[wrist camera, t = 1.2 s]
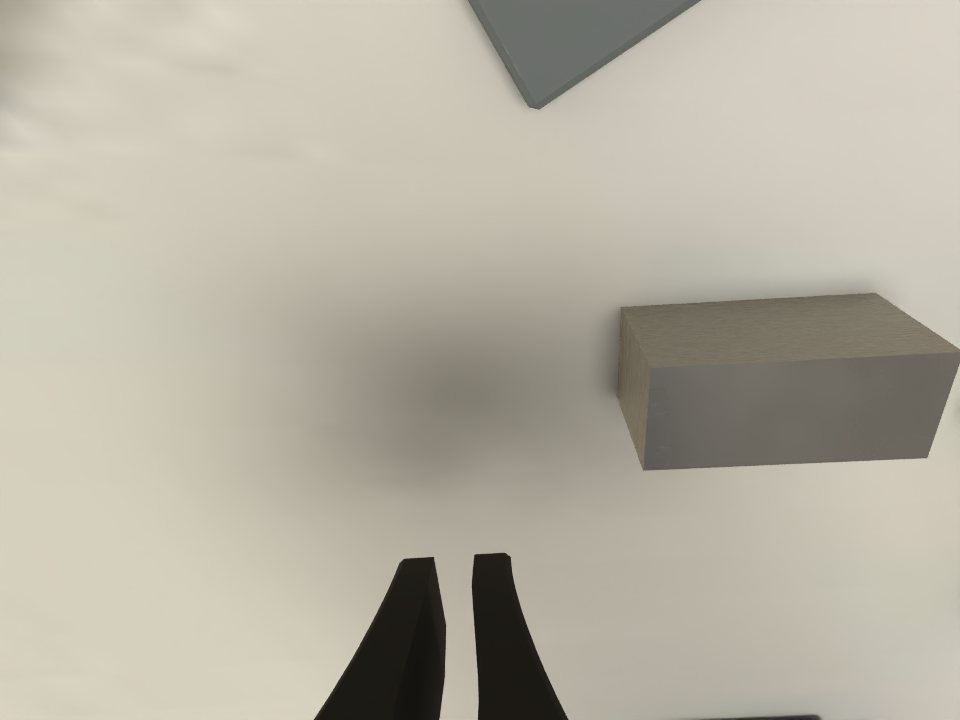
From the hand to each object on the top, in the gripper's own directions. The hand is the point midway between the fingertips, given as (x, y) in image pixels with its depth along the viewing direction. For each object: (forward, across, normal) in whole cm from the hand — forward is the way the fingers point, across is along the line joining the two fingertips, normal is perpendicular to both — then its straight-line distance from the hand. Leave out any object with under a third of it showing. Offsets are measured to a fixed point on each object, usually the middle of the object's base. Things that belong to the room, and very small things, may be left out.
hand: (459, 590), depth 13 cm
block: (+10, -9, 0) cm, 13 cm away
